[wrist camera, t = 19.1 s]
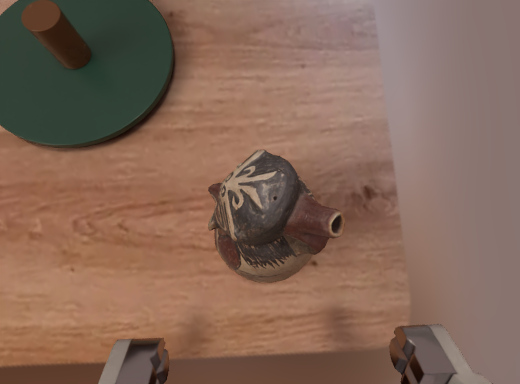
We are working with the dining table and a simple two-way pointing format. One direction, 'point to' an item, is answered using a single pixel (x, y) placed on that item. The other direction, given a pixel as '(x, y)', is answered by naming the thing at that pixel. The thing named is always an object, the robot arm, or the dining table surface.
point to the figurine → (269, 219)
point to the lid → (81, 68)
